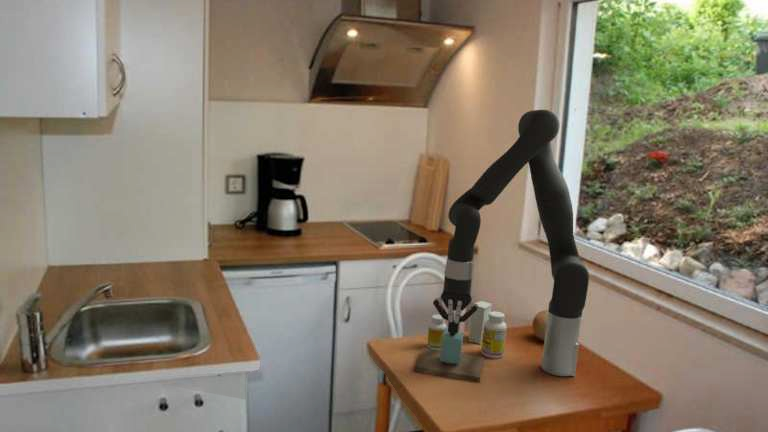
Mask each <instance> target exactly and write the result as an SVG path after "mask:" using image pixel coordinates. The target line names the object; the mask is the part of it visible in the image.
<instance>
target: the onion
mask: <svg viewBox="0 0 768 432" xmlns="http://www.w3.org/2000/svg"><path fill="white" fill-rule="evenodd" d="M547 317H548V309H544V310H541V311H539V312H538V313H537V314H535V316H534V318H533V319H532V327H531V328H532V331H533V333H534V335H535V337H537V339H539V340H541V341H543V342H544V341H545V333H546V325H547Z"/></svg>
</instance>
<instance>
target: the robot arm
mask: <svg viewBox="0 0 768 432" xmlns="http://www.w3.org/2000/svg"><path fill="white" fill-rule="evenodd" d="M518 121H519V122H518V125H517V126H518V128H517V130H518V134H519V137H518V138H517V139H516V141H515V142H514V143H513V144H512V146H511V147H510V148H508V149H507V151H505V152H504V153H503V154H502V155H501V156H500V157H498V158H497V159H496V160H495V161H494V162H493V163H492V164H491V165H490V166H489V167H488V168H487V169H486V170H485V171H484V172H483V173H482V174H481V176H480V177H479V178H478V179H477V181H475V182H474V184H473V186H472V187H470V188H469V189H468V190H466V191H465V192H464V193H463V194H461V196H459V198H457V199H456V200H455V201H454V202H453V203H452V205H451V206H450V208H449V211H448V216H447V217H448V220H449V222H450V223H451V224H452V225H453V226H454V233H453V237H451V238H450V239H449V240H448V247H447V248H448V249H447V256H446V257H447V258H446V262H445V269H444V280H443V288H442V293H441V295H440V296H439V297H437V298H434V299H433V302H432V304H433V306H434V308H435V309H436V310H437V312H438V313H439V315H441V317H442V318H443V319H445V320H446V321H447V322H448V324H447V331H448V332H449V333H450V335H455V334H457V333H458V332H459V329H460V323H464V322H466V321H467V320H468V319H469V318H471V315H472V314H473V313H474V312H475V311H476V310H477V308H478V305H477V304H476V303H475V302H474V301H473V300H472V299H473V298H472V296H471V292H472V290H471V289H472V281H473V270H474V264H473V262H474V252H475V244H476V241H477V239H478V236H479V232H480V229H481V223H482V222H481V221H482V220H481V219H482V218H481V214H480V212H479V211H480V210H481V209H483V208H484V206H490V205H491V204H493V203H494V202H495V200H496V199H498V197H499V196H500V195H501V194H502V192H503V191H504V190H505V189H506V188H507V186H509V184H510V182H511V181H512V180H513V179H514V178H515V177H516V176H517V174H519V172H520V171H521V170H522V169H523V168H524V167H525V166H526V165H527V164H528V167H529V172H530V176H531V182H532V187H533V192H534V198H535V203H536V207H537V211H538V215H539V219H540V222H541V223H540V224H541V226H542V228H543V232H544V234H545V236H546V239H547V244H548V251H549V258H550V268H551V269H550V270H551V275H552V279H553V287H552V294H551V299H550V301H548V309H547V310H548V317H547V325H546V333H545V341H543V342H544V343H543V350H542V351H543V352H542V357H541V369H542V370H543V371H544V372H546V373H547V374H549V375H553V376H558V377H575V375H576V368H577V361H578V360H577V359H578V354H579V347H580V345H579V338H580V331H581V325H582V318H583V311H584V308H585V305H586V301H587V296H588V289H589V280H590V276H589V275H590V274H589V271H588V269H587V267H586V266H585V265H584V263H583V262H582V260H581V257H580V254H579V251H578V247H577V245H576V241H575V235H574V210H573V209H574V208H573V203H572V199H571V195H570V189H569V186H568V184H567V182H566V179H565V178H564V175H563V174H562V171H561V169H560V168H559V166H558V164H557V162H556V159H555V156H554V153H553V148H552V147H553V146H552V141H553V140H554V139H555V138H557V135H558V134H559V131H560V127H561V125H560V124H561V123H560V119H559V117H558V116H557V115H556V113H554V112H553V111H551V110H548V109H536V110H535V109H534V110H529V111H527V112H525V113H524V114H523V115H521V117H520V118H519V120H518ZM443 304H444V306H445V307H446V308H447V311H448V312H447V311H446V309H445V308H444V306H443ZM467 307H468V310H467V311H466V312H464V314H463V315H462V311H464V310H465V309H466V308H467Z"/></svg>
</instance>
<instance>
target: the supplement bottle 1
mask: <svg viewBox="0 0 768 432" xmlns="http://www.w3.org/2000/svg"><path fill="white" fill-rule="evenodd" d="M445 320H446V319H443V318H442V317H441V315H440V314H433V315H431V322H429V324H428V329H427V330H428V331H427V341H426V342H427V343H426V344H427V345H426V347H427V349H432V350H439V351H441V343H442V336H443V333H444V331H445V330H446V331H447V328H448V325H447V324H446V323H445V322H446V321H445Z"/></svg>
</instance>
